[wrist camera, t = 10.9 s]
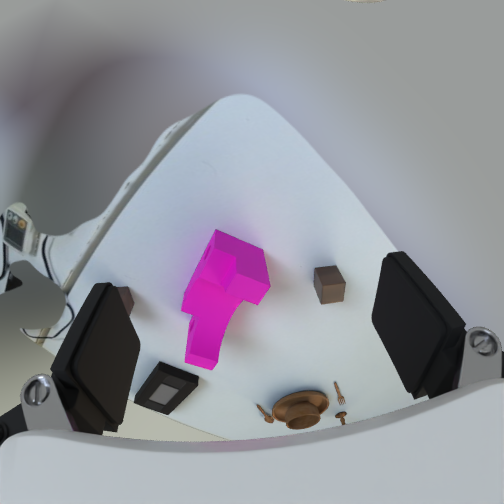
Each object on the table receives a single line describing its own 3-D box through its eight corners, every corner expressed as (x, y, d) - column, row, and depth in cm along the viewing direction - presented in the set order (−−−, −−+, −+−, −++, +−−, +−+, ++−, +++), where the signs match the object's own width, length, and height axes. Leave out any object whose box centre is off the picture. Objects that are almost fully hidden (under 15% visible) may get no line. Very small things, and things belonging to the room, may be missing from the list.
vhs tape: (199, 376, 47) (198, 385, 45) (168, 407, 52) (167, 415, 51) (159, 360, 44) (157, 369, 43) (135, 395, 50) (133, 402, 48)
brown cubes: (109, 287, 37) (100, 305, 33) (336, 265, 37) (345, 282, 34) (116, 304, 38) (108, 322, 35) (334, 283, 39) (343, 301, 35)
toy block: (215, 229, 34) (212, 263, 27) (262, 249, 35) (270, 286, 29) (173, 316, 40) (165, 356, 33) (213, 330, 42) (211, 370, 35)
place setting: (335, 375, 50) (343, 400, 45) (349, 413, 59) (355, 433, 54) (250, 402, 52) (252, 427, 47) (281, 434, 62) (284, 454, 57)
